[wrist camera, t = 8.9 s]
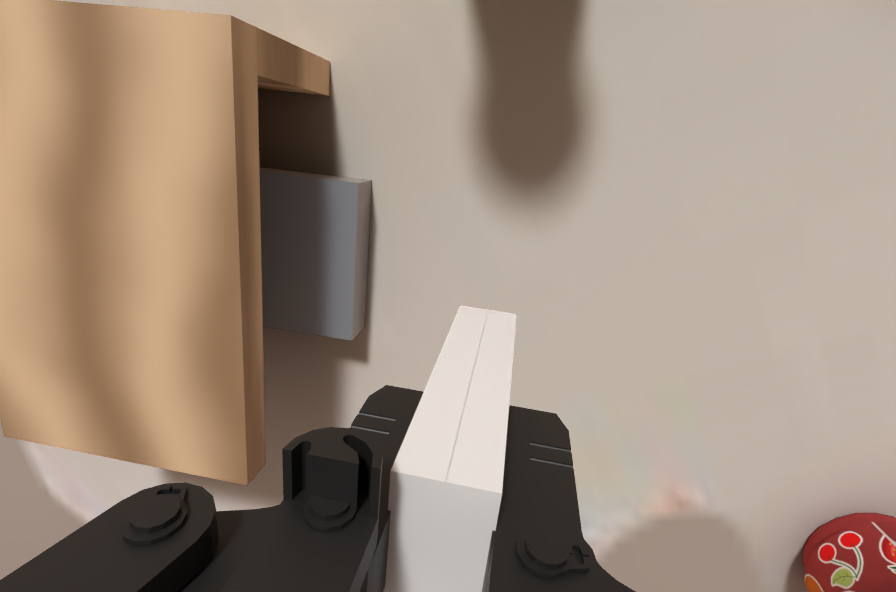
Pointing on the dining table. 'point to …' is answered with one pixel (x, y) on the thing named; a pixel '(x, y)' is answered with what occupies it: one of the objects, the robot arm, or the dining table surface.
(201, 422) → the oak shelf
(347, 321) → the slate board
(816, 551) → the smoothie
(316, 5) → the dining table surface
